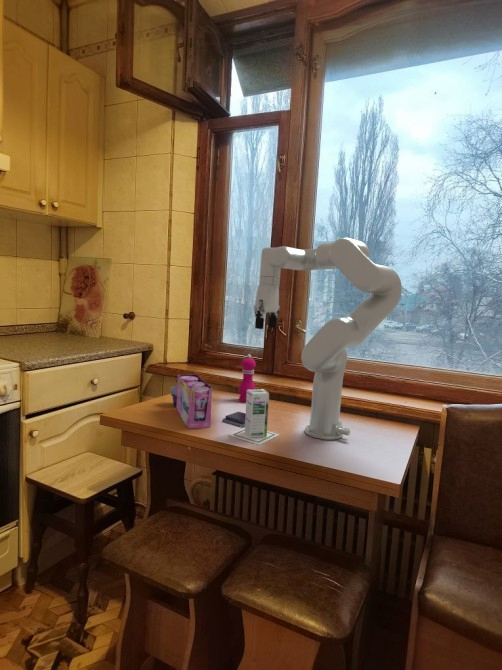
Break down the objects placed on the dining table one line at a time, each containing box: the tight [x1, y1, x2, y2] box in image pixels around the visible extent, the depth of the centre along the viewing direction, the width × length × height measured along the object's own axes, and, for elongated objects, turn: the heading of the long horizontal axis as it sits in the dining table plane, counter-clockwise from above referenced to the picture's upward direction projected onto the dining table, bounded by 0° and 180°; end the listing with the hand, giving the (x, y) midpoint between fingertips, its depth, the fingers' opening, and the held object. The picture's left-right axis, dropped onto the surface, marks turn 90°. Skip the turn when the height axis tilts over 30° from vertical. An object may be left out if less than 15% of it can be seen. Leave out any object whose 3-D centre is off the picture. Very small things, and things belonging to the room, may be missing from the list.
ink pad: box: [222, 411, 246, 428], centre depth 144 cm, size 9×9×2 cm
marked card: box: [228, 427, 280, 446], centre depth 131 cm, size 12×12×1 cm
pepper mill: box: [238, 353, 257, 404], centre depth 171 cm, size 7×7×20 cm
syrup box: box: [244, 388, 270, 438], centre depth 131 cm, size 6×6×14 cm
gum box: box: [175, 373, 213, 429], centre depth 144 cm, size 24×8×14 cm, turn 20°
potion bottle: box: [170, 377, 178, 408], centre depth 159 cm, size 9×9×12 cm
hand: (265, 328), depth 152 cm, fingers open, 9 cm apart
